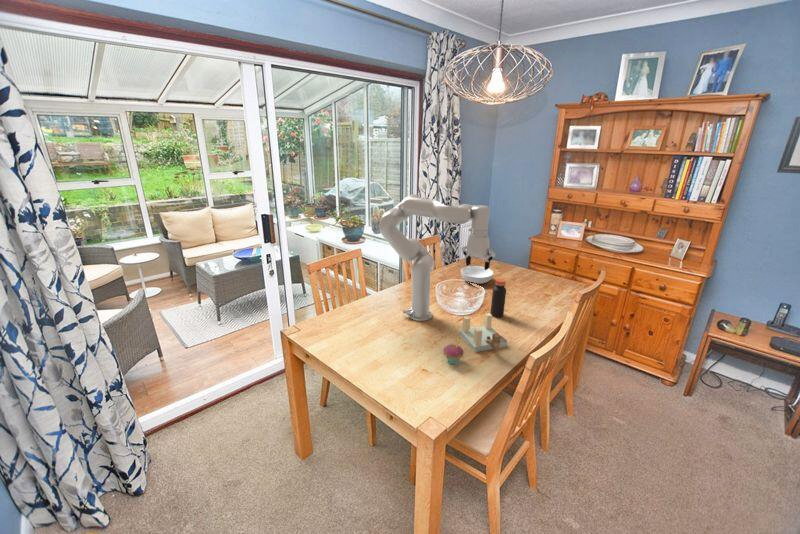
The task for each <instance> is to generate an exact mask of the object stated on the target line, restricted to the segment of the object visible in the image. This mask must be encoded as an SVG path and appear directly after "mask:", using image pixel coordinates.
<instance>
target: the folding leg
mask: <svg viewBox="0 0 800 534" xmlns="http://www.w3.org/2000/svg"><path fill="white" fill-rule="evenodd" d="M501 336H502V335H500V334H499V333H498V332H497V333H495V334H493V335H492V339H491V338H490V336H487V338H486V341H487V342H488V343H489V344H490V345H491V347H492V348H493V349H492V350H494V351H495V350H500V348H499V347H500V339H501Z"/></svg>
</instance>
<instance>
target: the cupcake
mask: <svg viewBox="0 0 800 534" xmlns="http://www.w3.org/2000/svg"><path fill="white" fill-rule="evenodd" d="M459 341H460V337H458V338H457V340H456V344H448V345H446V346H444V348H443V350H442V354H443V355H444V357H445V358H446V361H447V362H448V364H451V365H457V364H459V362H460V359H462V358H463V356H464V355H465V354H464V353H465V352H464V349H463V347H462V346H460V345H459Z"/></svg>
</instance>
